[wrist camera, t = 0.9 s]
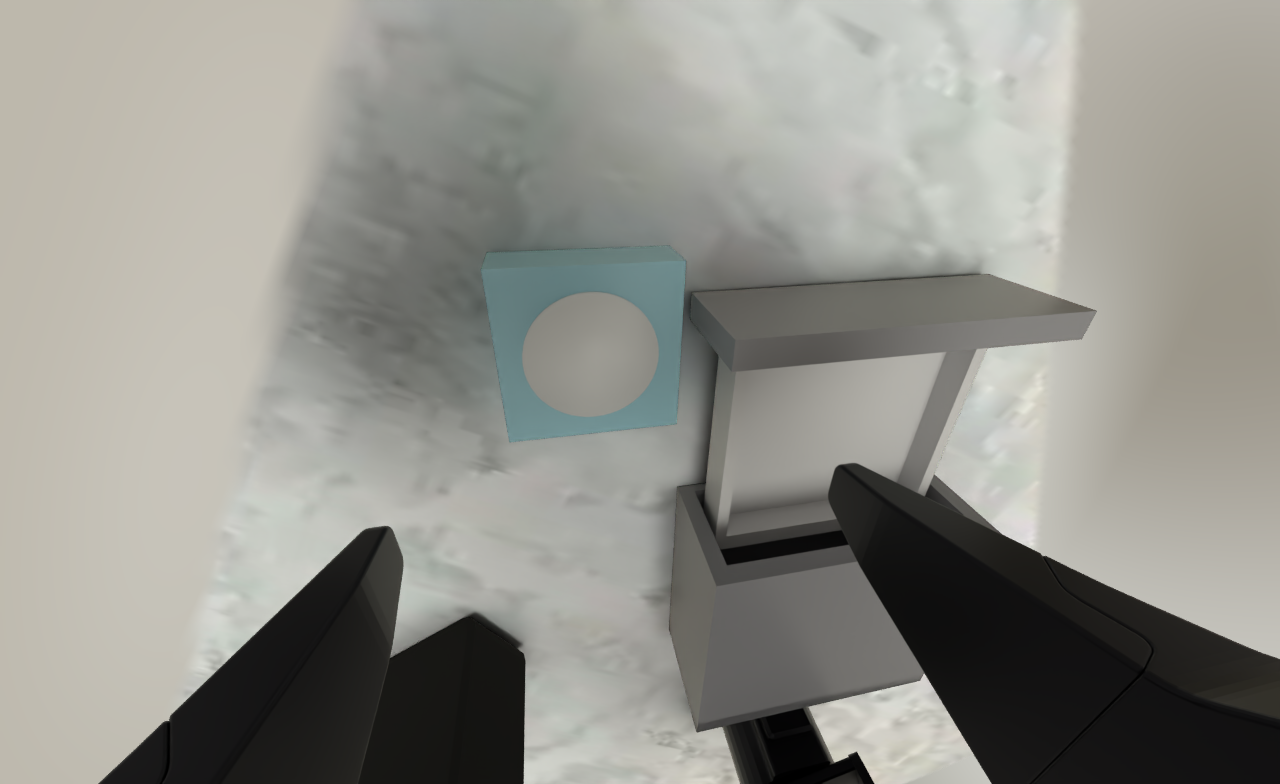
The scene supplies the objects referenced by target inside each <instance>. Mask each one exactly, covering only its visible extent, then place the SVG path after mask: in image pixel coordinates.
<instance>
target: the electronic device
mask: <svg viewBox="0 0 1280 784" xmlns="http://www.w3.org/2000/svg"><path fill="white" fill-rule="evenodd" d="M524 718H525V657H524V653H522V652H521V651H519V650H518V649H516V648H515V647H513V646H512V645H510V644H509V643H507V642H506V641H504V640H503V639H501V638H500V637H499V636H497V635H496V634H494V633H493V632H491V631H490V630H488V629H487V628H485V627H484V626H482V625H481V624H479V623H478V622H476V621H475V620H473V619H472V618H470V617H468V618H464V619H461V620H459V621H457V622H456V623H454V624H452V625H450V626H448V627H447V628H445V629H443V630H441V631H439V632H438V633H436V634H434V635H432V636H430V637H428V638H427V639H425V640H423V641H421V642H419V643H418V644H416V645H414V646H412V647H410V648H409V649H407V650H405V651H403V652H401V653H400V654H398V655H396V656H394V657H392V658H390V659H389V664H388V668H387V671H386V675H385V679H384V683H383V687H382V691H381V695H380V699H379V703H378V707H377V710H376V714H375V718H374V722H373V726H372V730H371V734H370V738H369V742H368V746H367V749H366V753H365V757H364V761H363V765H362V769H361V773H360V777H359V781H358V784H524Z"/></svg>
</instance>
